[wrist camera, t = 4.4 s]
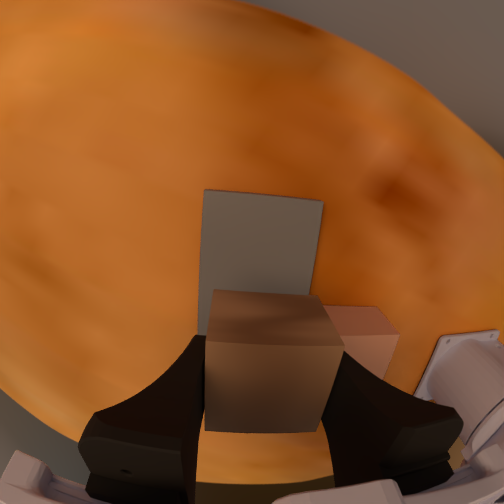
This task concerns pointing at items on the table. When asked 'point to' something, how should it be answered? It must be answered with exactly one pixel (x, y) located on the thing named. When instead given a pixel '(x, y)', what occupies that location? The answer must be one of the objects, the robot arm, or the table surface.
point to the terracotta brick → (365, 335)
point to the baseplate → (256, 245)
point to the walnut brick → (268, 362)
